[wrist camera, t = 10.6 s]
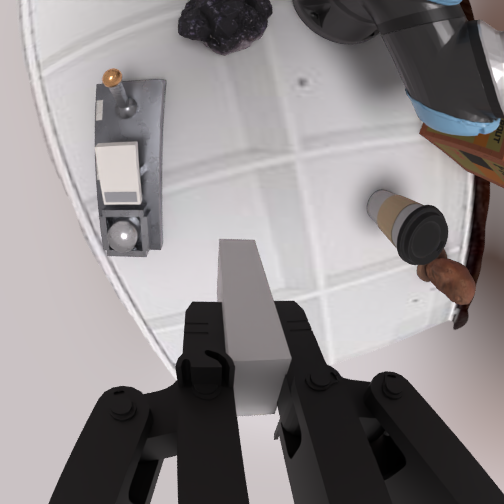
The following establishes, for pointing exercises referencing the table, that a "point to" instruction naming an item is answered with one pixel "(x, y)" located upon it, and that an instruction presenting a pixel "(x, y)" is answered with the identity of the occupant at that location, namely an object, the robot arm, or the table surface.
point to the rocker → (119, 172)
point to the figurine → (449, 278)
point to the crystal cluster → (225, 23)
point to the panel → (149, 153)
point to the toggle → (116, 87)
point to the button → (124, 234)
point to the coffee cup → (409, 226)
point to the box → (473, 151)
